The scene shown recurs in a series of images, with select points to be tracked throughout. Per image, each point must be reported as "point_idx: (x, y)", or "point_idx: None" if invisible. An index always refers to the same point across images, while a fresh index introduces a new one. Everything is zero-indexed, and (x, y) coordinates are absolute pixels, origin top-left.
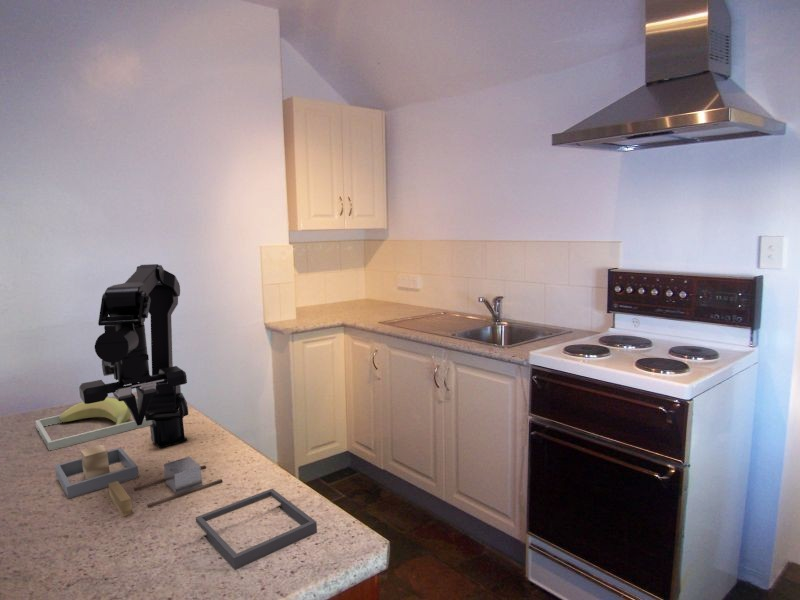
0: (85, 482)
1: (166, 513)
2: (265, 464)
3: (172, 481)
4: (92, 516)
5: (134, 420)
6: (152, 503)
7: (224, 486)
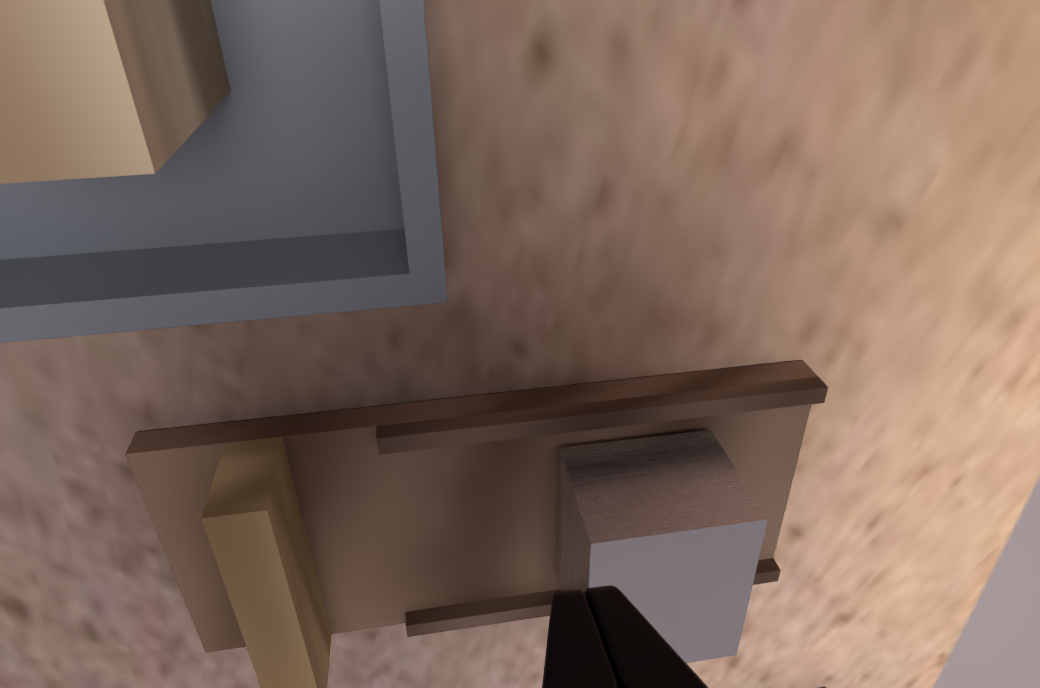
0: (7, 337)
1: None
2: (1037, 445)
3: None
4: (130, 502)
5: (546, 649)
6: (430, 629)
7: None
